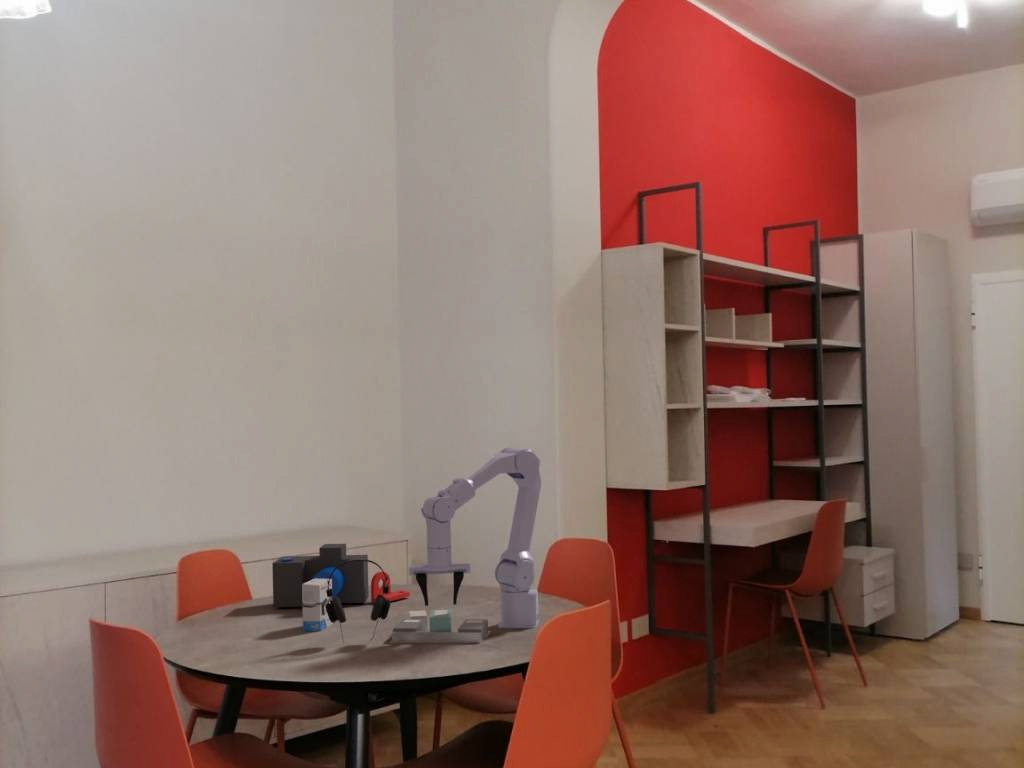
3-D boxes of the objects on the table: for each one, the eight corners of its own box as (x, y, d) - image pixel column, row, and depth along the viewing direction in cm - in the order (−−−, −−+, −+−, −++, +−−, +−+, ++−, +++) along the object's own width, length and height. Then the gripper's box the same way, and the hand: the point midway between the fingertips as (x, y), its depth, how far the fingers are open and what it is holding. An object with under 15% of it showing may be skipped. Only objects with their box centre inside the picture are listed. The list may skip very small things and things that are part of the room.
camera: (268, 611, 258) (267, 554, 259) (283, 599, 274) (282, 544, 275) (358, 609, 258) (357, 551, 258) (368, 597, 274) (367, 543, 274)
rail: (481, 642, 217) (481, 631, 217) (480, 643, 216) (480, 632, 216) (393, 641, 220) (393, 630, 220) (392, 642, 219) (391, 631, 219)
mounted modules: (488, 632, 227) (487, 619, 227) (481, 642, 217) (481, 628, 217) (403, 631, 229) (403, 618, 230) (393, 641, 220) (393, 627, 220)
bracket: (382, 603, 266) (382, 575, 266) (371, 601, 268) (370, 573, 269) (411, 595, 275) (410, 568, 276) (400, 593, 278) (399, 567, 278)
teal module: (452, 632, 227) (451, 609, 227) (451, 640, 219) (450, 616, 219) (431, 632, 227) (430, 609, 227) (430, 641, 219) (429, 617, 219)
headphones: (390, 634, 229) (388, 552, 229) (392, 646, 217) (390, 560, 218) (327, 639, 226) (325, 555, 226) (325, 651, 215) (324, 563, 215)
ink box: (320, 632, 233) (319, 584, 233) (301, 631, 234) (301, 584, 234) (333, 624, 241) (332, 578, 242) (315, 623, 242) (314, 577, 242)
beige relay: (425, 626, 237) (425, 610, 237) (427, 631, 231) (426, 615, 231) (409, 627, 237) (409, 611, 237) (411, 632, 231) (410, 616, 231)
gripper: (469, 543, 228) (471, 599, 228) (409, 545, 227) (411, 601, 227) (469, 547, 221) (471, 605, 221) (407, 550, 220) (409, 608, 220)
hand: (440, 604), depth 223 cm, fingers open, 6 cm apart
